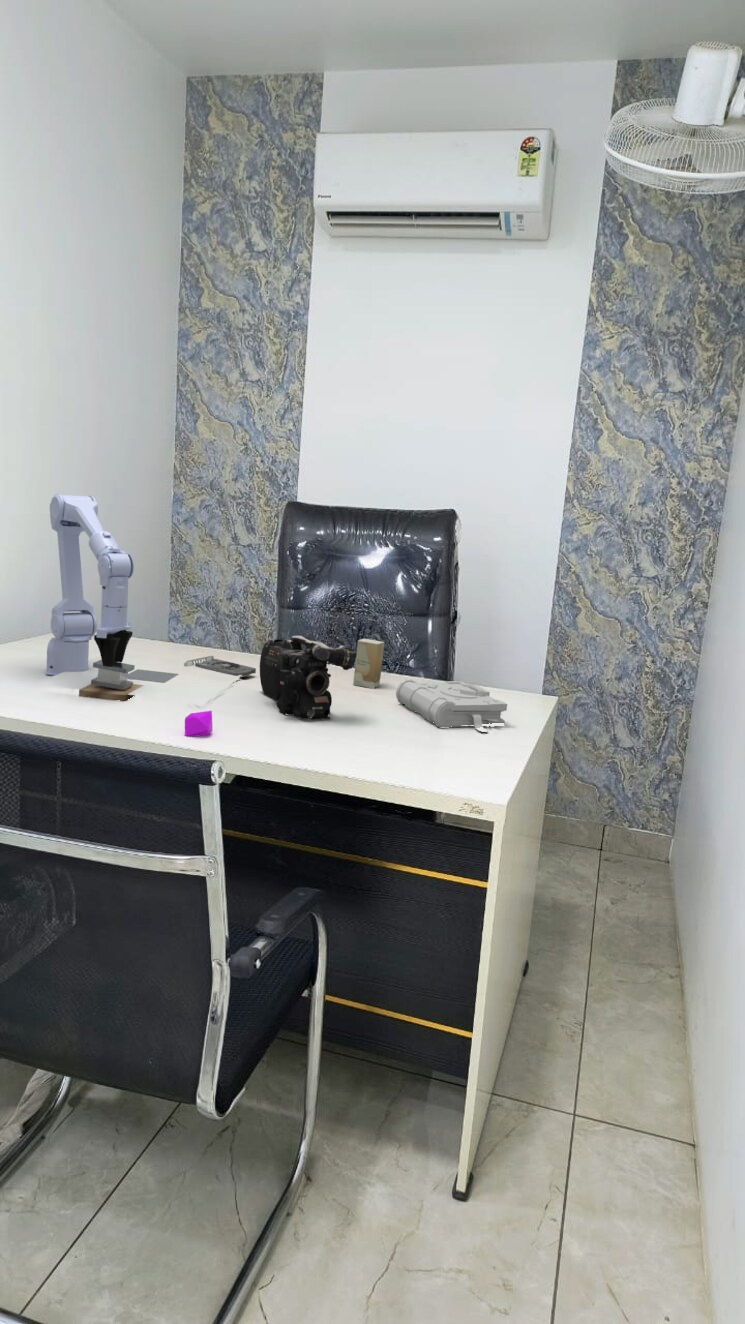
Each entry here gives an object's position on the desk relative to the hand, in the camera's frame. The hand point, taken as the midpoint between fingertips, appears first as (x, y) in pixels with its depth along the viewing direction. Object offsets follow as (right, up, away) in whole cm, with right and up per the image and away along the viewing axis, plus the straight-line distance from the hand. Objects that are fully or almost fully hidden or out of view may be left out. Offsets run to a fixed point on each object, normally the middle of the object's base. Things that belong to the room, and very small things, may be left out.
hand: (112, 663), depth 214 cm
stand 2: (+5, -4, +16) cm, 17 cm away
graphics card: (+20, -4, +31) cm, 37 cm away
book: (+80, -13, +7) cm, 81 cm away
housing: (0, -5, +1) cm, 5 cm away
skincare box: (+59, -6, +32) cm, 67 cm away
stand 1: (-1, -7, +1) cm, 7 cm away
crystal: (+24, -15, -24) cm, 37 cm away
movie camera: (+43, -11, +4) cm, 44 cm away
